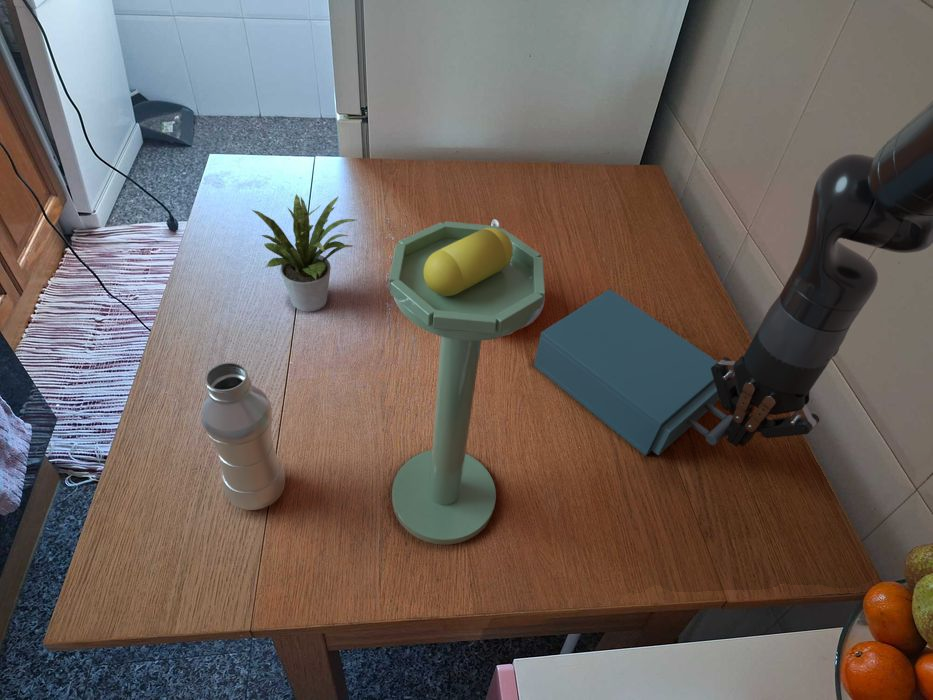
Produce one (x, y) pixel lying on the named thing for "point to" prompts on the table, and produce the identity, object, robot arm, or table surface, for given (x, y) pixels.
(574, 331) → the cabinet
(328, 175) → the table surface
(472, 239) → the yellow rounded capsule
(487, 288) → the cake stand
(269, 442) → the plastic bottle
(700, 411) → the drawer
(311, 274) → the house plant
